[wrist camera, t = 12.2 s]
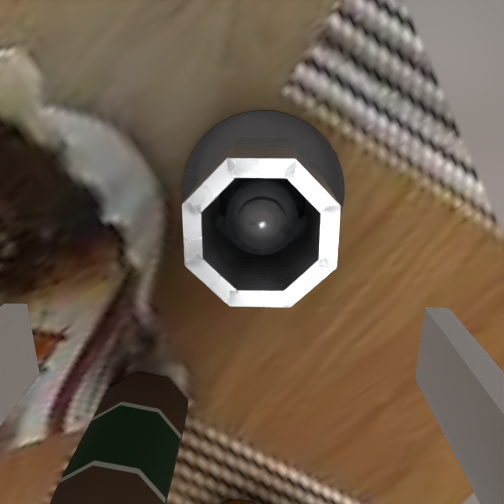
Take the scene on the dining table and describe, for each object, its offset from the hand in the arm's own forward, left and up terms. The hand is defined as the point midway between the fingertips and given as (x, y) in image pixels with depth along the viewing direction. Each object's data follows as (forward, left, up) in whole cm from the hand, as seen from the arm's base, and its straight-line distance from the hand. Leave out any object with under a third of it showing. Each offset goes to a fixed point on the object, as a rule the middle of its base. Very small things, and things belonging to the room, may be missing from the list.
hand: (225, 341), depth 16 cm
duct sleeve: (+1, +1, -21) cm, 21 cm away
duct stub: (+1, +1, -21) cm, 21 cm away
